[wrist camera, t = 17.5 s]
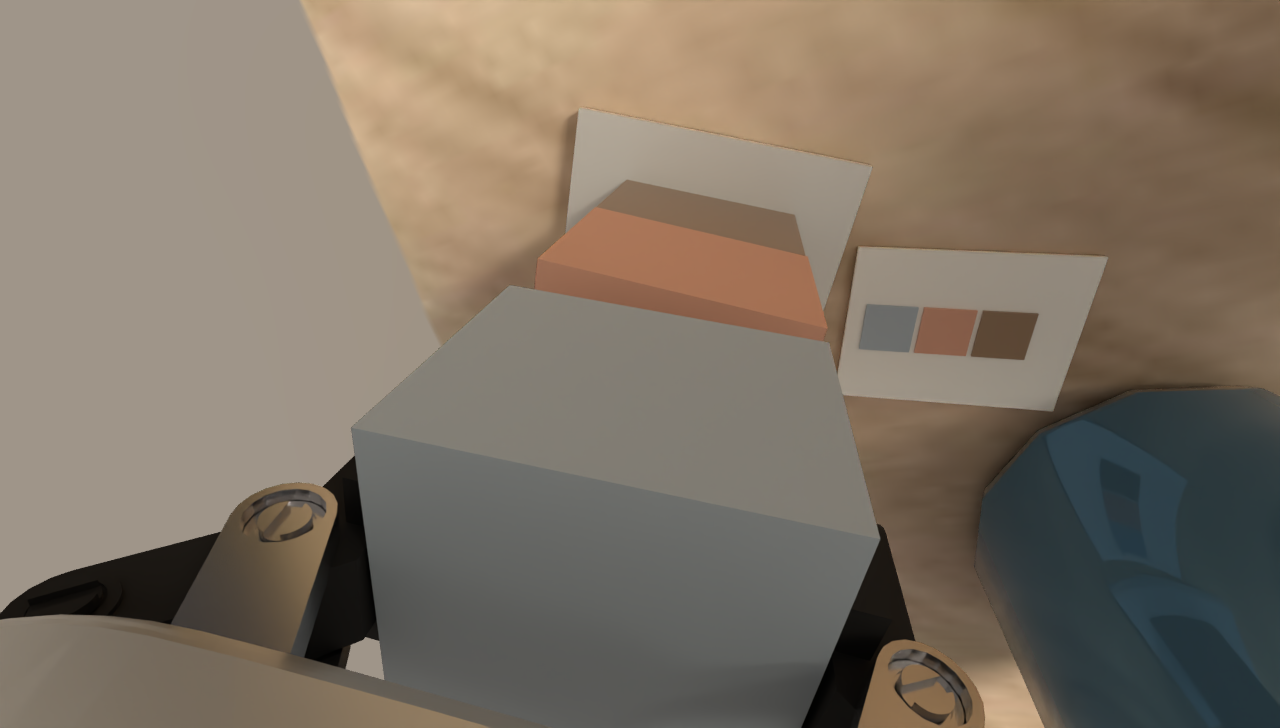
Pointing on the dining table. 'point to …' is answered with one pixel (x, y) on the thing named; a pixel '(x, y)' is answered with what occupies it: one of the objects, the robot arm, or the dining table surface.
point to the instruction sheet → (965, 325)
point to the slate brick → (614, 518)
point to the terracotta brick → (683, 274)
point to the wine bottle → (1143, 561)
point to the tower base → (718, 186)
